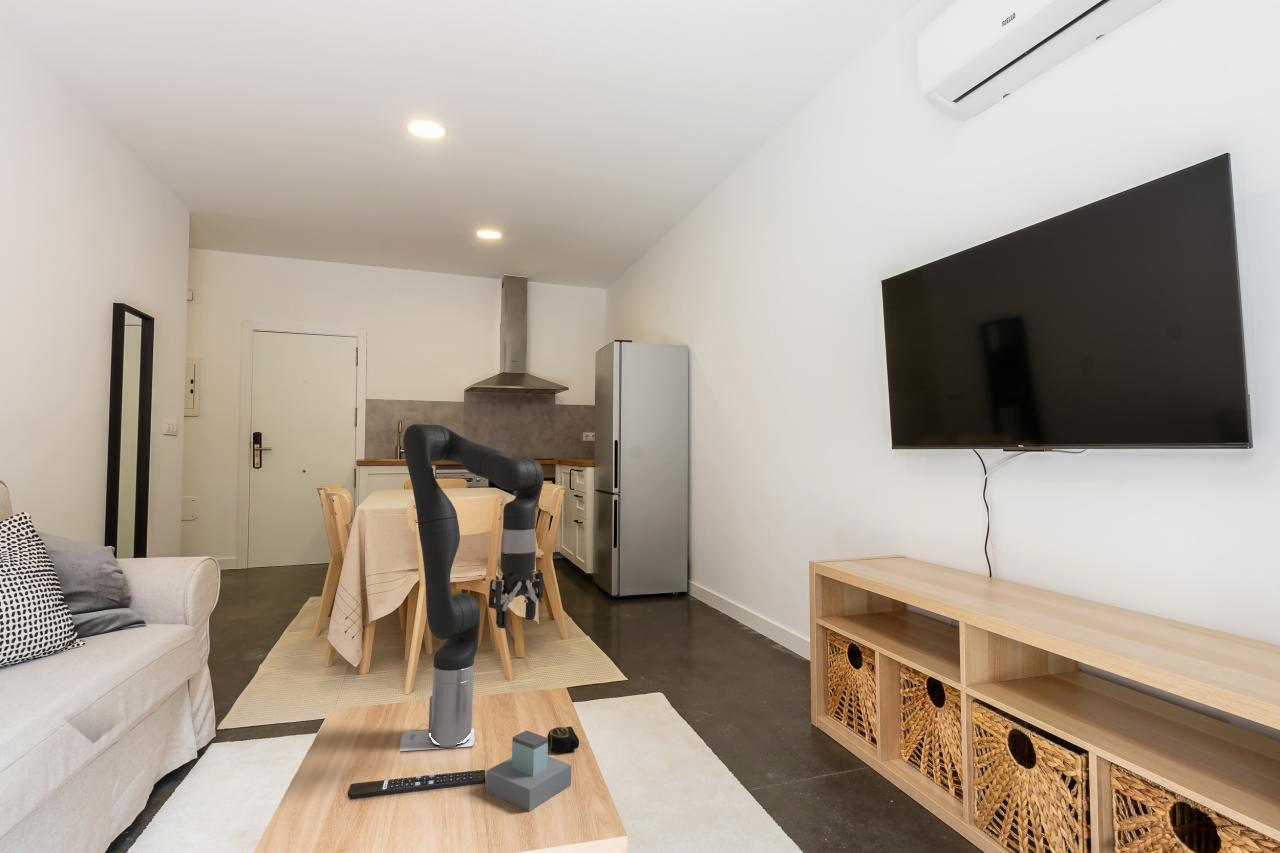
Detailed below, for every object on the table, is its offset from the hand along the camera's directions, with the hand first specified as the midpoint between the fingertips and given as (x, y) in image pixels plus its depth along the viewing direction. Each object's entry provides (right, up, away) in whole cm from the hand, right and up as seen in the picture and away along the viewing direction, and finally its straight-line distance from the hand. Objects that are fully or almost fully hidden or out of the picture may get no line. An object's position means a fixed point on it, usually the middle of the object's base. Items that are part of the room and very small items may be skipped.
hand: (516, 623), depth 139 cm
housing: (+5, -26, -11) cm, 28 cm away
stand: (+5, -30, -11) cm, 32 cm away
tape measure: (+10, -31, +7) cm, 33 cm away
